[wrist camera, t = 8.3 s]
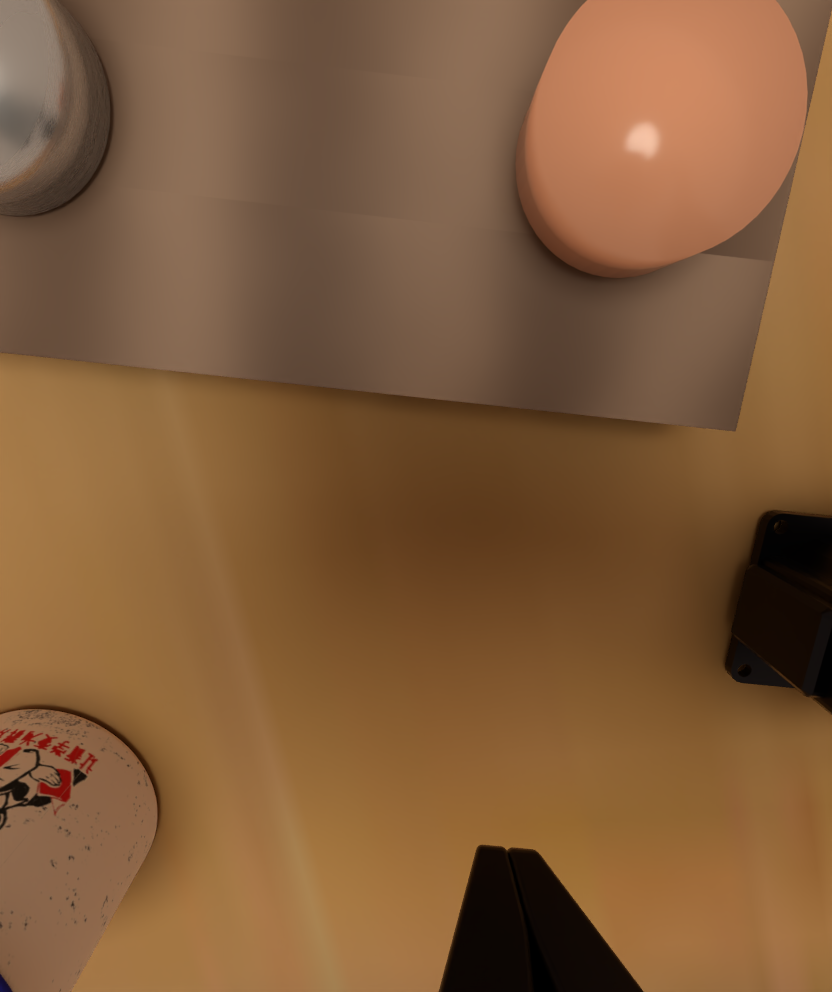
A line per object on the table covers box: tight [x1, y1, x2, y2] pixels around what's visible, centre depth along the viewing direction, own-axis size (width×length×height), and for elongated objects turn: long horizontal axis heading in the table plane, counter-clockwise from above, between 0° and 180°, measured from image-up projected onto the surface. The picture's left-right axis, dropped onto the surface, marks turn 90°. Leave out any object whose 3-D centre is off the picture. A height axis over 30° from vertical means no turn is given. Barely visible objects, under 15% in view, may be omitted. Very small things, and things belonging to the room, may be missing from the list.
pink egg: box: [515, 0, 808, 278], centre depth 14 cm, size 5×5×6 cm
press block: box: [0, 0, 832, 431], centre depth 16 cm, size 24×12×4 cm, turn 84°
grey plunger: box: [0, 0, 110, 216], centre depth 14 cm, size 5×5×6 cm
